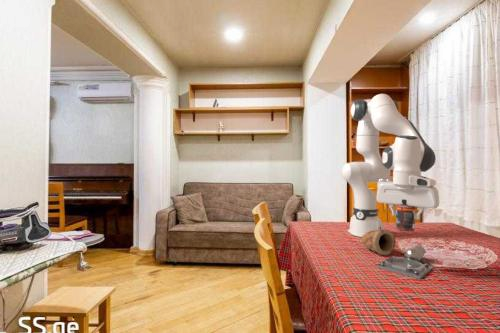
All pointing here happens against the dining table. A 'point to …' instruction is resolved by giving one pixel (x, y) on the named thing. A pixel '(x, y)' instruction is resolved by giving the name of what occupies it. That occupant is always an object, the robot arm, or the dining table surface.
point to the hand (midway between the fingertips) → (405, 217)
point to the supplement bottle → (405, 217)
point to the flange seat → (407, 263)
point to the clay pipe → (379, 241)
